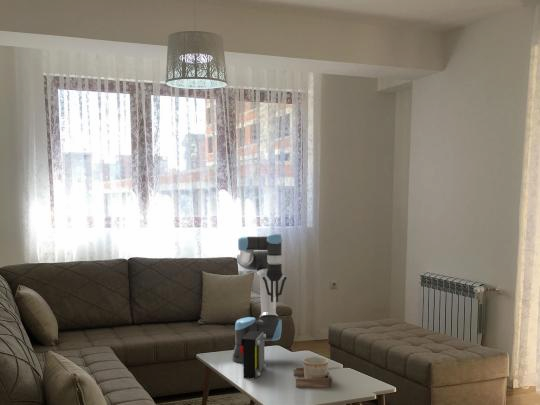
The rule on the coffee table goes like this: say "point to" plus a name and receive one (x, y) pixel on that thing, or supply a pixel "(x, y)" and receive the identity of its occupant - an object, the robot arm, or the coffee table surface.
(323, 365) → the planter
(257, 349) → the electrical component
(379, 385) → the coffee table surface
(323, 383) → the walnut cradle
